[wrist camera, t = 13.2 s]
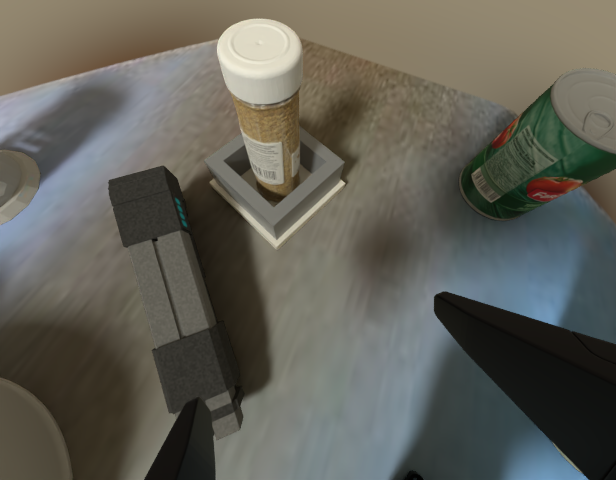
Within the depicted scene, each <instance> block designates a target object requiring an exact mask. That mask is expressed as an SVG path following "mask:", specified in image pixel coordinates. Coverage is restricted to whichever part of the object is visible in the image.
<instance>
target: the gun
mask: <svg viewBox="0 0 616 480" xmlns="http://www.w3.org/2000/svg"><path fill="white" fill-rule="evenodd" d="M108 183H109V188H108V189H109V196H110V200H111V203H112V206H113V207H114V208H113V210H114V214H115V217H116V221H117V225H118V228H119V232H120V236H121V239H122V243H123V246H124V247H126V248H128V251H129V254H130V258H131V261H132V265H133V269H134V272H135V276H136V280H137V283H138V287H139V290H140V294H141V298H142V301H143V305H144V308H145V312H146V316H147V319H148V323H149V327H150V330H151V334H152V337H153V341H154V345H155V349H153V350H152V353H153V356H154V360H155V363H156V367H157V371H158V374H159V378H160V382H161V385H162V389H163V393H164V396H165V400H166V404H167V407H168V411H169V413H173V414H175V416H176V419H177V418H178V416H179V414H180V412H181V410H182V408H183V406H184V405H185V403H186V402H188V401H189V400H192V399H194V398H196V397H200V398H201V399H202V400H203V401H204V403H205V404H206V405H207V407H208V408H209V409H210V411H211V415H212V426H213V436H214V434H215V437H216V440H219V439H221V438H223V437H225V436H228V435H230V434H232V433H234V432H236V431H239V430H240V428H241V424H242V420H243V414H242V410H241V407H240V405H241V402H242V399H243V396H244V392H243V389H242V386H235V384H236V382H237V380H238V377H239V375H240V373H239V370H238V367H237V363H236V360H235V357H234V354H233V350H232V347H231V344H230V341H229V338H228V334H227V331H226V328H225V325H224V322H223V321H221V322H217V319H216V315H215V312H214V309H213V306H212V302H211V299H210V296H209V293H208V289H207V286H206V283H205V280H204V277H206V276H205V273H204V270H203V267H202V264H201V260H200V257H199V254H198V251H197V247H196V244H195V241H194V238H193V234H192V230H191V227H190V224H189V221H188V215H187V213H186V211H185V209H186V203H185V200H184V198H183V196H182V192H181V189H180V186H179V183H178V179H177V178H176V177H175V176H174V175H173V174H172V173H171V172H170V171H169V170H168V169H167V168H166V167H165V166H160V167H156V168H152V169H149V170H145V171H141V172H137V173H134V174H130V175H126V176H123V177H119V178H115V179H111V180H109V182H108Z"/></svg>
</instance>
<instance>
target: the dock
mask: <svg viewBox="0 0 616 480" xmlns="http://www.w3.org/2000/svg"><path fill="white" fill-rule="evenodd" d="M299 129H300V166H299V177H300V185H299V186H298V187H297V188H296V189H295V190H293V191H292V192H291V193H290V194H289V195H288V196H287V197H285V198H284V199H283V200H282V201H281V202H275V201H271V200H268V199H267V198H265V197H263V196H262V195H261V194H260V192H259V191H258V189H257V185H256V181H257V180H256V177H255V173H254V172H253V169H252V166H251V163H250V160H249V156H248V153H247V150H246V146H245V143H244V139H243V136H242V133H241V134H240V135H238V136H237V137H236V138H234V139H233V140H232V141H230V142H229V143H227V144H226V145H225V146H223V147H222V148H220V149H219V150H218V151H216V152H215V153H213V154H212V155H211V156H209V157H208V158H206V159H205V160H204V162H205V163H206V165H207V167H208V169H209V171H210V172H211V174H212V176H213V178H214V179H213V180H211V181H210V182H209V183H210V185H211V186H212V188H213V189H214V190H215V191H216V192H218V193H219V194H220V195H221V196H222V197H223V198H224V199H225V200H226V201H227V202H228V203H229V204H230V205H231V206H232V207H233V208H234V209H235V210H236V211H237V212H238V213H239V214H240V215H241V216H242V217H243V218H244V219H245V220H246V221H247V222H248V223H249V224H251V225H252V226H253V227H254V228H255V229H256V230H257V231H258V232H259V233H260V234H261V235H262V236H263V237H264V238H265V239H266V240H267V241H268V242H269V243H270V244H271V245H272V246H273V247H274V248H275V249H276V250H278V249H279V248H280V247H281V246H283V245H284V244H285V243H286V242H287V241H288V240H289V239H290V238H291V237H292V236H293V235H294V234H295V233H296V232H297V231H299V230H300V229H301V228H302V227H303V226H304V225H305V224H306V223H307V222H308V221H309V220H310V219H311V218H312V217H313V216H315V215H316V214H317V213H318V212H319V211H320V210H321V209H322V208H323V207H324V206H325V205H326V204H327V203H328V202H330V201H331V200H332V199H333V198H334V197H335V196H336V195H337V194H338V193H339V192H340V191H341V190H342V189H343V188H344V186H345V182H343V181H342V180H341V179H340V177H341V174H342V170H343V167H344V163H345V162H344V161H343V160H342V159H340V158H339V157H338V156H337V155H335V154H334V153H333V152H332V151H330V150H329V149H328V148H327V147H325V146H324V145H323V144H322V143H320V142H319V141H318V140H317V139H315V138H314V137H313V136H312V135H310V134H309V133H308V132H307V131H305V130H304V129H303V128H302V127H300V126H299Z"/></svg>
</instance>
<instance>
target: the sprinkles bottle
mask: <svg viewBox="0 0 616 480" xmlns="http://www.w3.org/2000/svg"><path fill="white" fill-rule="evenodd" d="M217 54H218V58H219V62H220V66H221V70H222V73H223V77H224V80H225V83H226V85H227V87H228V89H229V91H230V93H231V95H232V97H233V101H234V104H235V107H236V111H237V115H238V118H239V125H240V129H241V132H242V136H243V139H244V143H245V146H246V150H247V153H248V156H249V160H250V163H251V166H252V169H253V172H254V173H255V177H256V180H257V181H256V185H257V189H258V191H259V192H260V194H261V195H262V196H263V197H265V198H267V199H268V200H271V201H275V202H281V201H282V200H283V199H284V198H285V197H287V196H288V195H289V194H290V193H291V192H292V191H293V190H295V189H296V188H297V187H298V186H299V185H300V177H299V166H300V129H299V90H300V85H301V82H302V76H303V52H302V44H301V41H300V39H299V37H298V36H297V34H296V33H295V32H294V31H293V30H292V29H290V28H289V27H288V26H286V25H285V24H282V23H280V22H278V21H274V20H269V19H250V20H245V21H242V22H239V23H237V24H234V25H232V26H231V27H229V28H228V29H227V30H226V31H225V32H224V33H223V34H222V35H221V37H220V39H219V41H218V46H217Z"/></svg>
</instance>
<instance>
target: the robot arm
mask: <svg viewBox="0 0 616 480" xmlns="http://www.w3.org/2000/svg"><path fill="white" fill-rule="evenodd" d="M434 312H435V315H436V316H437V318H438V319H439V320H440V321H441V323H442V324H443V325H444V326H445V328H446V329H447V330H448V331H449V333H450V334H451V335H452V336H453V338H454V339H455V340H456V341H457V343H458V344H459V345H460V346H461V347H462V349H463V350H464V351H465V352H466V353H467V354H468V355H469V356H470V357H471V358H472V359H473V360H474V361H475V362H476V364H477V365H478V366H479V367H480V368H481V369H482V370H483V371H484V372H485V373H486V374H487V375H488V376H489V377H490V378H491V379H492V380H493V381H494V382H495V383H496V384H497V385H498V386H499V387H500V388H501V389H502V390H503V391H504V392H505V394H506V395H507V396H508V397H509V398H510V399H511V400H512V401H513V402H514V403H515V404H516V405H517V406H518V407H519V408H520V409H521V410H522V411H523V412H524V413H525V414H526V415H527V416H528V417H529V418H530V419H531V420H532V421H533V422H534V424H535V425H536V426H537V427H538V428H539V429H540V430H541V431H542V432H543V433H544V434H545V435H546V436H547V437H548V438H549V439H550V440H551V441H552V442H553V443H554V444H555V445H556V446H557V447H558V448H559V449H560V450H561V451H562V452H563V454H564V455H565V456H566V457H567V458H568V459H569V460H570V461H571V462H572V463H573V464H574V465H575V466H576V467H577V468H578V469H579V470H580V471H581V472H582V473H583V474H584V475H585V476H586V477H587V478H588V479H589V480H616V344H613V343H610V342H606V341H603V340H600V339H596V338H593V337H590V336H586V335H583V334H580V333H577V332H574V331H572V332H571V331H570V330H567V329H564V328H561V327H558V326H554V325H551V324H548V323H545V322H542V321H538V320H535V319H532V318H529V317H526V316H522V315H519V314H516V313H513V312H510V311H507V310H503V309H500V308H497V307H494V306H491V305H487V304H484V303H481V302H478V301H475V300H471V299H468V298H465V297H462V296H459V295H455V294H452V293H449V292H441V293H439V294H436V295H435V296H434ZM414 478H417V480H424V479H423V478H422V477H421V476H420V475H419V474H418V473H417V472H416V471H413V470H412V471H410V472H409V473H408V474H407V476H406V477H405V479H404V480H413V479H414ZM144 480H215V454H214V440H213V426H212V415H211V411H210V409H209V408H208V407H207V405H206V404H205V403H204V401H203V400H202V399H201V398H200V397H196V398H194V399H192V400H189V401H188V402H186V403H185V405H184V406H183V408H182V410H181V412H180V414H179V416H178V418H177V419H176V421H175V423H174V425H173V427H172V429H171V431H170V432H169V434H168V436H167V438H166V440H165V442H164V444H163V445H162V447H161V449H160V451H159V453H158V455H157V457H156V458H155V460H154V462H153V464H152V466H151V468H150V470H149V471H148V473H147V475H146V477H145V479H144Z"/></svg>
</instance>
